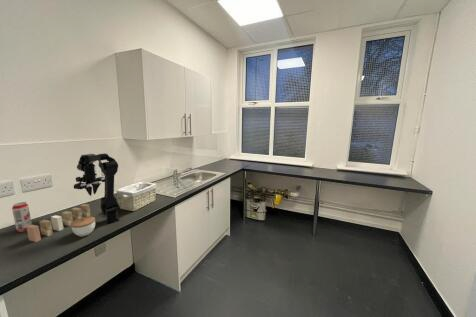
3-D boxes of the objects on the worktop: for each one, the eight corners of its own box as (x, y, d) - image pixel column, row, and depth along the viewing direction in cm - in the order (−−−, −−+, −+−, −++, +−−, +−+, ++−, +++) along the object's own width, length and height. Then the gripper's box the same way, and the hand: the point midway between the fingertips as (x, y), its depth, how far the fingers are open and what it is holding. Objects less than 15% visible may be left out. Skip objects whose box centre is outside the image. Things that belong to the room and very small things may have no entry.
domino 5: (84, 215, 132) (83, 204, 130) (90, 216, 130) (89, 204, 129) (81, 216, 130) (80, 205, 128) (87, 217, 128) (86, 206, 127)
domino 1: (46, 232, 111) (44, 219, 109) (52, 234, 110) (50, 220, 108) (41, 234, 109) (39, 221, 107) (48, 236, 107) (45, 222, 106)
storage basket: (142, 197, 164) (141, 180, 161) (158, 200, 158) (157, 183, 156) (116, 209, 141) (114, 190, 139) (134, 213, 136) (132, 193, 133)
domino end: (34, 238, 106) (31, 224, 104) (41, 239, 104) (38, 225, 103) (29, 240, 103) (26, 226, 102) (35, 242, 102) (33, 228, 101)
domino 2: (57, 227, 116) (55, 215, 114) (63, 228, 115) (61, 216, 113) (52, 229, 114) (50, 216, 112) (59, 230, 113) (57, 218, 111)
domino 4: (76, 218, 126) (74, 207, 125) (82, 220, 125) (80, 208, 124) (72, 220, 124) (71, 208, 123) (78, 221, 123) (77, 209, 122)
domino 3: (67, 223, 121) (65, 211, 120) (73, 224, 120) (71, 212, 118) (63, 224, 119) (61, 212, 118) (69, 226, 118) (67, 213, 116)
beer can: (14, 233, 109) (8, 207, 106) (20, 228, 115) (15, 202, 112) (29, 231, 111) (23, 205, 108) (34, 226, 117) (30, 201, 114)
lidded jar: (81, 228, 116) (79, 213, 114) (100, 228, 116) (98, 213, 115) (67, 239, 105) (65, 223, 103) (88, 238, 106) (86, 223, 104)
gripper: (93, 168, 141) (96, 189, 144) (65, 175, 123) (69, 198, 126) (105, 169, 138) (108, 190, 141) (79, 176, 121) (82, 200, 124)
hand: (92, 194), depth 133 cm, fingers open, 3 cm apart
